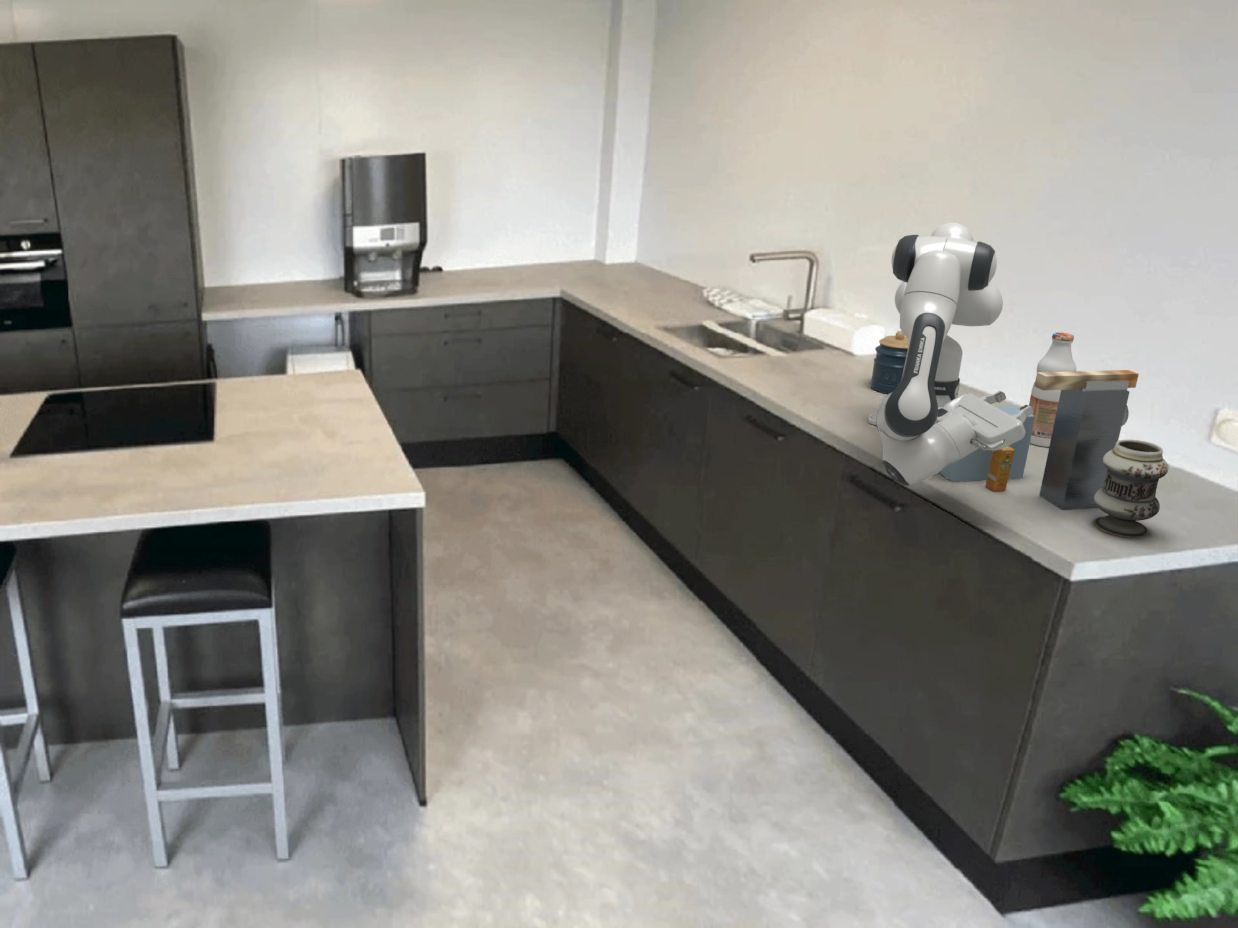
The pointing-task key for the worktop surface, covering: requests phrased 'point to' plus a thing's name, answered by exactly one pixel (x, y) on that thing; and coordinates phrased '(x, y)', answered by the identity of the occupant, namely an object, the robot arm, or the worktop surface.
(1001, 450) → the supplement box
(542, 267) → the worktop surface
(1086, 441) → the housing tower
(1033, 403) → the fruit juice
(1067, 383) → the tan wooden bar
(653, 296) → the worktop surface
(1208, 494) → the worktop surface
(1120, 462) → the apothecary jar
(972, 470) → the pale blue brick
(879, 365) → the canister
